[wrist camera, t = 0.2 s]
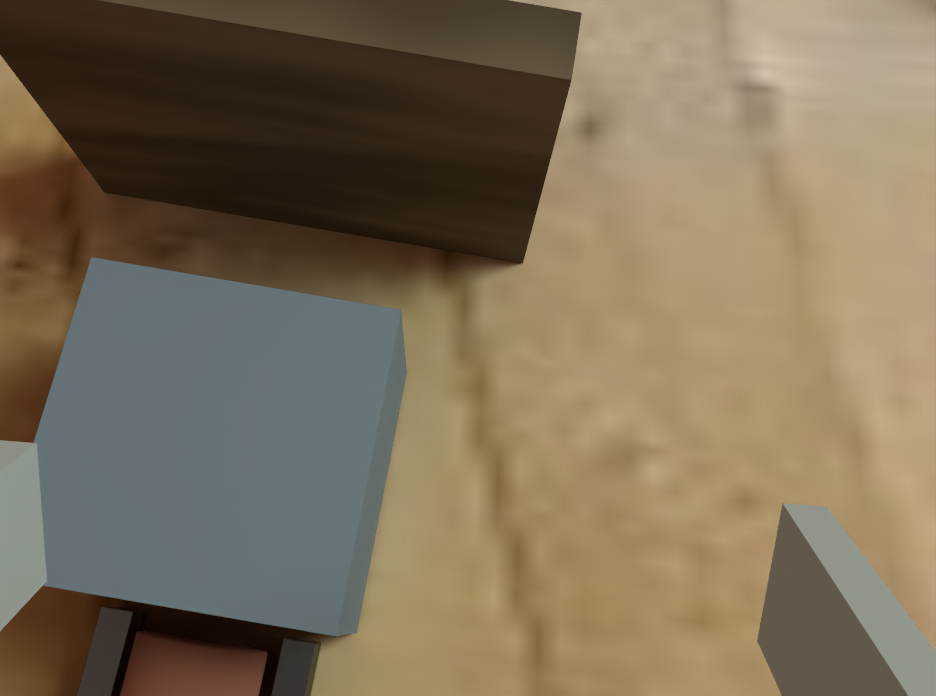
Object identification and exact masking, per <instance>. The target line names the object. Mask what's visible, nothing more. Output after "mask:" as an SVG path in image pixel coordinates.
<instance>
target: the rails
mask: <svg viewBox="0 0 936 696" xmlns="http://www.w3.org/2000/svg"><path fill="white" fill-rule="evenodd" d="M147 615H148V613H147V612H142V611H136V610H130V609H124V608H118V607H101V610H100V613H99V617H98V621H97V624H96V628H95V632H94V635H93V639H92V643H91V646H90V650H89V653H88V657H87V661H86V664H85V668H84V672H83V675H82V679H81V683H80V686H79V690H78V693H77V696H120V693H121V690H122V686H123V682H124V678H125V674H126V671H127V667H128V663H129V659H130V655H131V651H132V648H133V644H134V640H135V636H136V632H137V631H143V630H144V626H145V622H146V618H147ZM320 646H321V642H315V641H309V640H303V639H298V638H292V637H291V638H284V640H283V644H282V649H281V654H280V658H279V663H278V668H277V672H276V677H275V682H274V686H273V691H272V696H310V695H311V690H312V685H313V680H314V675H315V670H316V666H317V661H318V656H319V651H320Z"/></svg>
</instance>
